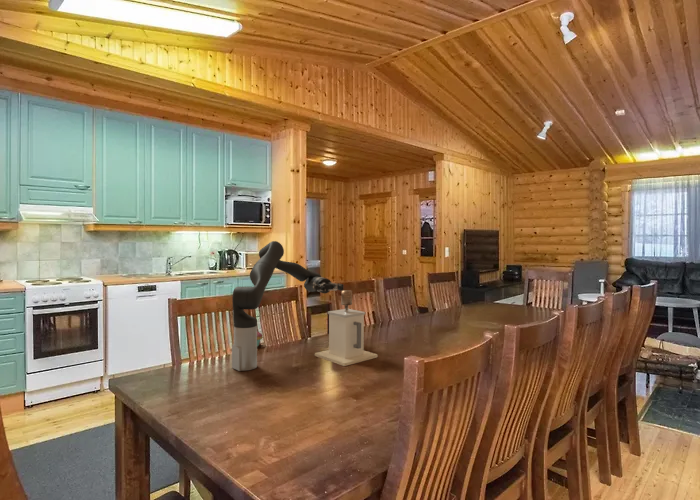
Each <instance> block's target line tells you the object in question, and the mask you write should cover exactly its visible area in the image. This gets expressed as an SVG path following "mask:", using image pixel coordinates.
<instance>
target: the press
mask: <svg viewBox="0 0 700 500" xmlns="http://www.w3.org/2000/svg"><path fill="white" fill-rule="evenodd" d="M327 315H328V349H327V350H323V351H317V352H314V356H315V357H317V358H320V359H322V360H326V361H328V362H331V363H335V364H337V365H340V366H343V367H346V366H350V365H353V364H358V363H361V362H365V361H370V360H372V359H375V358H376V359H377V358H378V354H377V353H374V352H370V351H366V350H365V349H364V348H365V347H364V342H365V341H364V339H365V337H364V334H365V332H364V331H365V330H364V329H365V328H364V327H365V325H364V324H365V315H366V312H365V311H361V310H358V309H357V310H356V309H351V308H348V312H347V313H346V312H345V308H343V309H336V310H335V309H334V310H329V311H327Z"/></svg>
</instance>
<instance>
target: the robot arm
mask: <svg viewBox="0 0 700 500" xmlns="http://www.w3.org/2000/svg"><path fill="white" fill-rule="evenodd" d="M284 254H285V249H284V247H283V244H282V243H280V242H278V241H277V240H273V241H270V242H269V243H268V244H266V245H264V246H263V247H261V249H260V250H259V251H258V256H259V259H258V260H257V261H256V262H255V264H254V265H253V267H251V270H250V273H249V278H250V279H249V280H250V282H251V283H252V286H236V287H235V288H234V289H233V291H232V294H231V295H232V296H231V298H232V300H231V302H232V320H233V344H232V345H231V368H232V369H234V370H236V371H237V372H241V371H242V372H244V371H251V370H255V369H257V367H258V346H257V331H258V320H257V318H256V317H254V316H251V315H249V314H248V313H247V312H246V311H245V310H251V311H253V310H257V309H258V308H259V306H260V304H261V302H262V299H263V296H264V293H265V291H266V288H267V286H268V283H269V282H270V280H271V278H272V276H273V273H274V271H275V270H279V271H281V272H284V273H286V274H288V275H290V276H292V277H293V278H294V279H296V280H297V281H299V282H303V283H304V284H303V287H304V288H305V290H306V291H308V292H312V293H313V292H319V293H322V294H328V293H329V292H331V291H340V292H341V291H343V290H344V289H345V288H344V284H342V283H333V282H332V281H331V280H330V279H329V278H326V277H323V276H321V274H320V273H317V272H316V271H311V270H308V269H307V268H305V267H304V266H302V265H301V264H299V263H296V262H292V261H287V260H286V261H284V260H281V259H282V258H283V256H284Z"/></svg>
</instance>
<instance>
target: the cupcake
mask: <svg viewBox="0 0 700 500" xmlns="http://www.w3.org/2000/svg"><path fill="white" fill-rule="evenodd" d="M262 339H263V333H261V332H260V331H258V330H257V347H259V346H260V342H261V340H262Z"/></svg>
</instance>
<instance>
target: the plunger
mask: <svg viewBox="0 0 700 500" xmlns="http://www.w3.org/2000/svg"><path fill="white" fill-rule="evenodd" d="M340 295H341V297H340V298H341V299H340V301H341V302H340V303H341V304H340V305H341V306H344V309H345V312H346V313H347V312H348V309H349V306H352V305H353V290H351V289H350V290H348V289H347V290H346V289H345V290H342V291H340Z"/></svg>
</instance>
